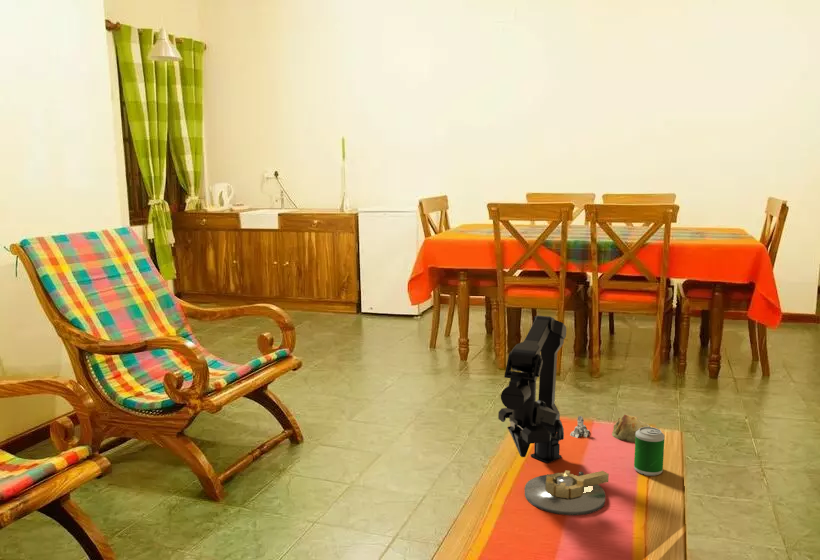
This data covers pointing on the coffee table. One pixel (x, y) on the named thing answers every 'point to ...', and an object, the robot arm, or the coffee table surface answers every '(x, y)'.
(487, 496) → the coffee table surface
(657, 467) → the soda can
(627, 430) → the brown rock
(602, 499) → the flange
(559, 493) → the brass ring wrench
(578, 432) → the grey rock pile
